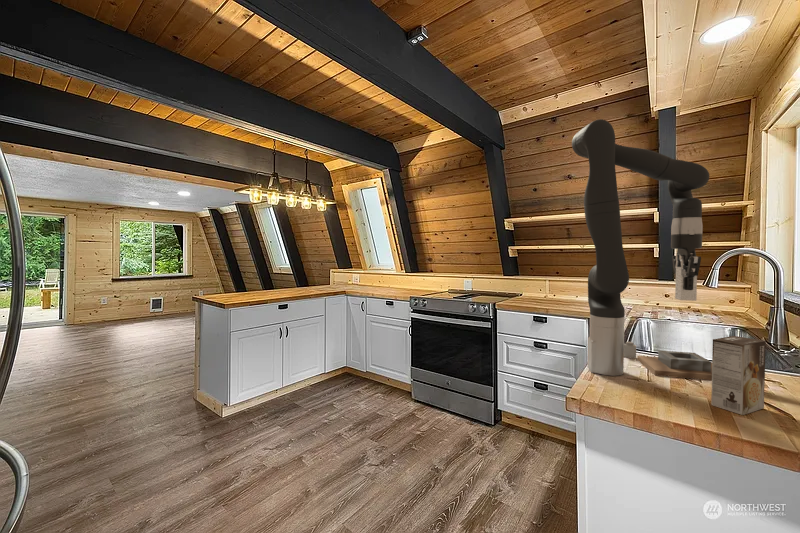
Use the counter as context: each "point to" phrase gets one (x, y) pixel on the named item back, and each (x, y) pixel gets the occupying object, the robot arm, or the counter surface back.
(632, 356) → the grey rectangular block
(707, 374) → the dock
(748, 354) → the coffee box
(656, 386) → the counter surface
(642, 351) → the counter surface
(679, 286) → the key peg
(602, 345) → the robot arm
